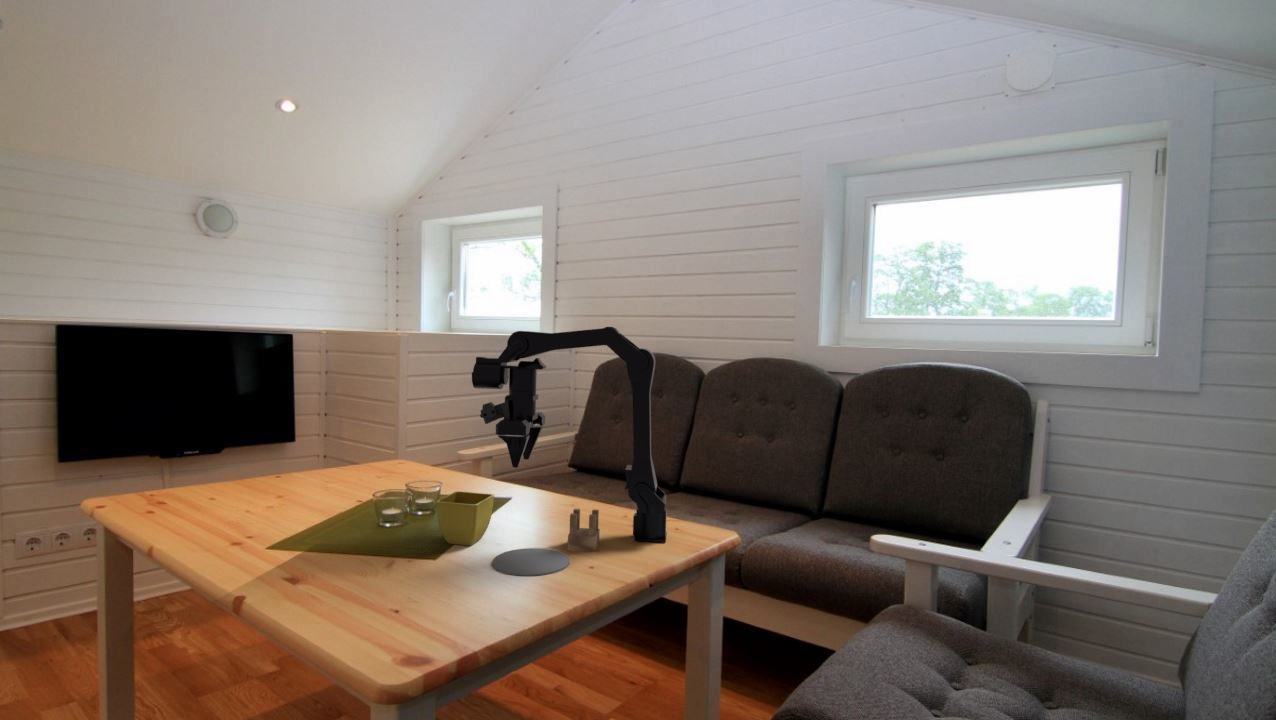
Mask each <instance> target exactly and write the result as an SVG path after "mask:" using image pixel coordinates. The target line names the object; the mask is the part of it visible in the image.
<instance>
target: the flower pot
mask: <svg viewBox="0 0 1276 720" xmlns="http://www.w3.org/2000/svg"><path fill="white" fill-rule="evenodd" d="M494 498H495V494H494V493H493V494H492V493H482V492H472V491H471V492H469V491H459V490H458V491H453V492H452V493H450V494H448V495H446V496H444V497H442V498H439V499H437V500H436V501H435V506H436V514H437V515H436V516H437V522H438V527H439V530H440V532H441V534H442V537H443V538H444V539H445V541H446V542H447V543H448V544H451V545H460V546H461V545H462V546H463V545H464V546H473V545H474V544H475V543H477V542H478V541H480V540H481V539H482V538H483V536H484V535H485V534H486V532H487V529H488V527H489V525H490V523H491V519H492V514H493V507H494V500H495V499H494Z"/></svg>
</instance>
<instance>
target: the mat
mask: <svg viewBox="0 0 1276 720" xmlns="http://www.w3.org/2000/svg"><path fill="white" fill-rule="evenodd" d="M569 565H570V557H569V556H568V555H567V554H566V553H563V552H562V551H559V550H555V549H549V548H541V547H539V548H537V547H532V548H529V547H528V548H527V547H526V548H519V549H517V548H516V549H512V550H509V551H505V552H502V553H500V554H498V555H496V556H495V557H494V558H493V559H492V566H493V568H494V569H495V570H497V571H498V572H501V573H502V574H503V573H504V574H507V575H511V576H512V575H513V576H521V577H522V576H523V577H526V576H527V577H535V576H543V575H545V576H546V575H551V574H554V573H557V572H560V571H563V570H564V569H565V570H566V568H567V567H568V566H569Z"/></svg>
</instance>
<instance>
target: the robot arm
mask: <svg viewBox="0 0 1276 720" xmlns="http://www.w3.org/2000/svg"><path fill="white" fill-rule="evenodd" d="M599 346H602V347H603V346H607V347H608V348H609V349H610V350H611V352H613V353H615V355H617V357H618V358H620V359H621V360H622V361H624V362H625V364H626V370H627V375H628V381H629V384H630V388H631V393H632V438H633V439H632V442H633V444H632V446H633V450H632V451H633V456H632V457H633V458H632V464H627V465H626V467H625V469H624V474H625V480H626V483H625V487H624V490H625V491H626V490H627V494H628V497H629V499H630V500H632V502H633V503H636V506H637V507H636V512H634V514H633V516H632V517H633V519H632V535H633V536H634V541H636V542H651V543H652V542H654V543H666V542H667V535H668V532H667V512H668V508H667V507H668V506H666V503H667V494H666V493H665V492H664V491H663V490H662V489H661V487H659V486H658V480H657V476H656V470H655V465H654V461H653V458H652V425H651V424H652V419H651V417H652V415H651V414H652V411H651V408H652V407H651V405H652V404H651V391H652V386H653V381H654V374H655V367H656V362H657V361H656V357H655V354H654V353H653V352H652V351H651V350H649V349H647V348H644V347H643V348H639V347H638V346H637V345H636V344H635V343H634V342H632V341H631V340H629V338H628V337H626V336H624V334H622V332H620V331H619V330H618V329H617V328H616V327H614V326H606V327H603V328H593V329H581V330H572V331H562V332H561V331H560V332H554V333H553V332H542V331H541V332H540V331H539V332H538V331H530V330H529V331H526V330H524V331H523V330H517V331H514V332H513V333H511V335H510V336H509V337H508V339H507V344H506V347H505V349H503V351H502V352H501V354H500V355H499V356H498V357H487V356H476V357H475V363H474V364H473V368H472V372H471V383H472V386H473V389H476V390H477V389H481V390H482V389H483V390H502V389H503V388H504V386H505V385H506V386H507V385H508V394H506V396H505V397H504V402H501V403H498V404H494V402H492V401H490V402H487V403H484V404H482V408H481V410H480V411H479V412H480V414H479V416H480V418H481V419H483V422H484V424H485V425H487V424H490V423H492V422H495V421H497V420H499V419H501V420H500V421H499V422H497V423H496V424H495V435H497V437H498V438H499V439H501V440H502V441H503V442H504V443H505V444H506V446H507V450H508V454H509V458H510V462H511V466H512V468H516V469H517V468H519V466H520V464H521V461H522V458H523V460H526V461H527V460H528V461H529V459H530V458H531V455H532V453H533V451H534V448H535V446H536V444H537V442H538V439H539V437H540V435H541V432H542V431H543V429H544V426H545V425H546V415H545V414H544V413H543V412H542V411H536V410H537V400H539V393H537V376H538V375H537V374H538V373H537V372H538V371H537V370H544V369H545V370H546V369H547V365H546V364H544V363H543V362H542V360H541V358H539V357H536V356H539V355H540V356H541V355H543V354H546V353H550V352H553V351H557V350H558V351H559V350H567V349H570V350H571V349H579V348H588V347H589V348H590V347H599ZM533 357H536V358H534V360H528V361H527V360H521V359H528V358H533ZM519 360H520V361H519ZM518 361H519V362H518ZM514 362H518V365H511V364H510V365H509V363H514ZM502 418H503V419H502Z"/></svg>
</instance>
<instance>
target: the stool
mask: <svg viewBox="0 0 1276 720" xmlns="http://www.w3.org/2000/svg"><path fill="white" fill-rule="evenodd" d="M572 510H573V512H571V513H570V514H569V532H568V535H567V550H568V551H577V552H580V551H581V552H596V551H597V549H598V547H599V545H598V544H600V530H601V529H600V528H599V518H600V516H599V514H600V513H599V512H600V509H592V510H591V513H590V514H589V515H588V527H581V508H573V509H572Z"/></svg>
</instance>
